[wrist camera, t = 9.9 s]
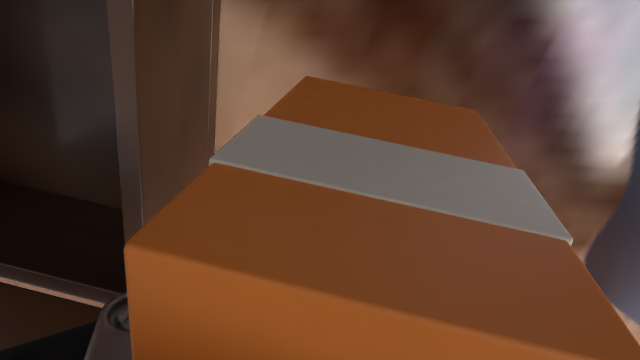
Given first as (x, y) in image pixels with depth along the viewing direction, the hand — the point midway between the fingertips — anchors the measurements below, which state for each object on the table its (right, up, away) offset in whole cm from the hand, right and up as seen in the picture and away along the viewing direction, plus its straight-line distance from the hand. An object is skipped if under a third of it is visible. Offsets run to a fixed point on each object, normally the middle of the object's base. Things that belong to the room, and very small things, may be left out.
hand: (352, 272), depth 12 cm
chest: (-14, +7, +10) cm, 18 cm away
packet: (+1, +2, +4) cm, 4 cm away
